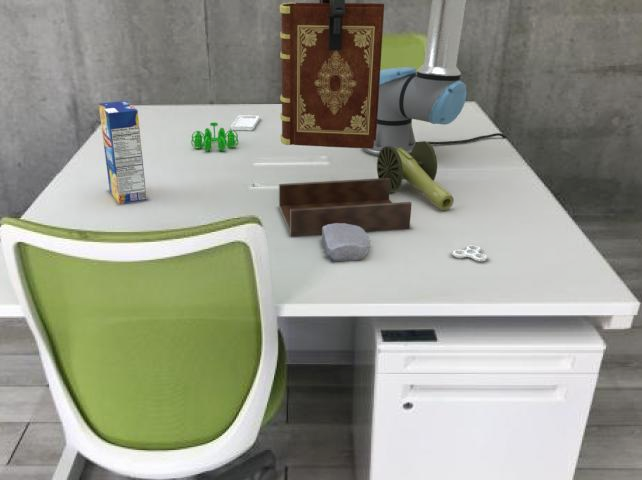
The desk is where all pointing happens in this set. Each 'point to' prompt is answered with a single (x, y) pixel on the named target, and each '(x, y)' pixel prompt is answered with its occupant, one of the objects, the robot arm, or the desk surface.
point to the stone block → (345, 242)
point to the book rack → (341, 206)
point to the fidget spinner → (470, 253)
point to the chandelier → (214, 139)
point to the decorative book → (330, 75)
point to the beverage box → (123, 151)
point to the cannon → (414, 171)
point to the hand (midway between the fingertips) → (330, 46)
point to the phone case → (245, 123)
